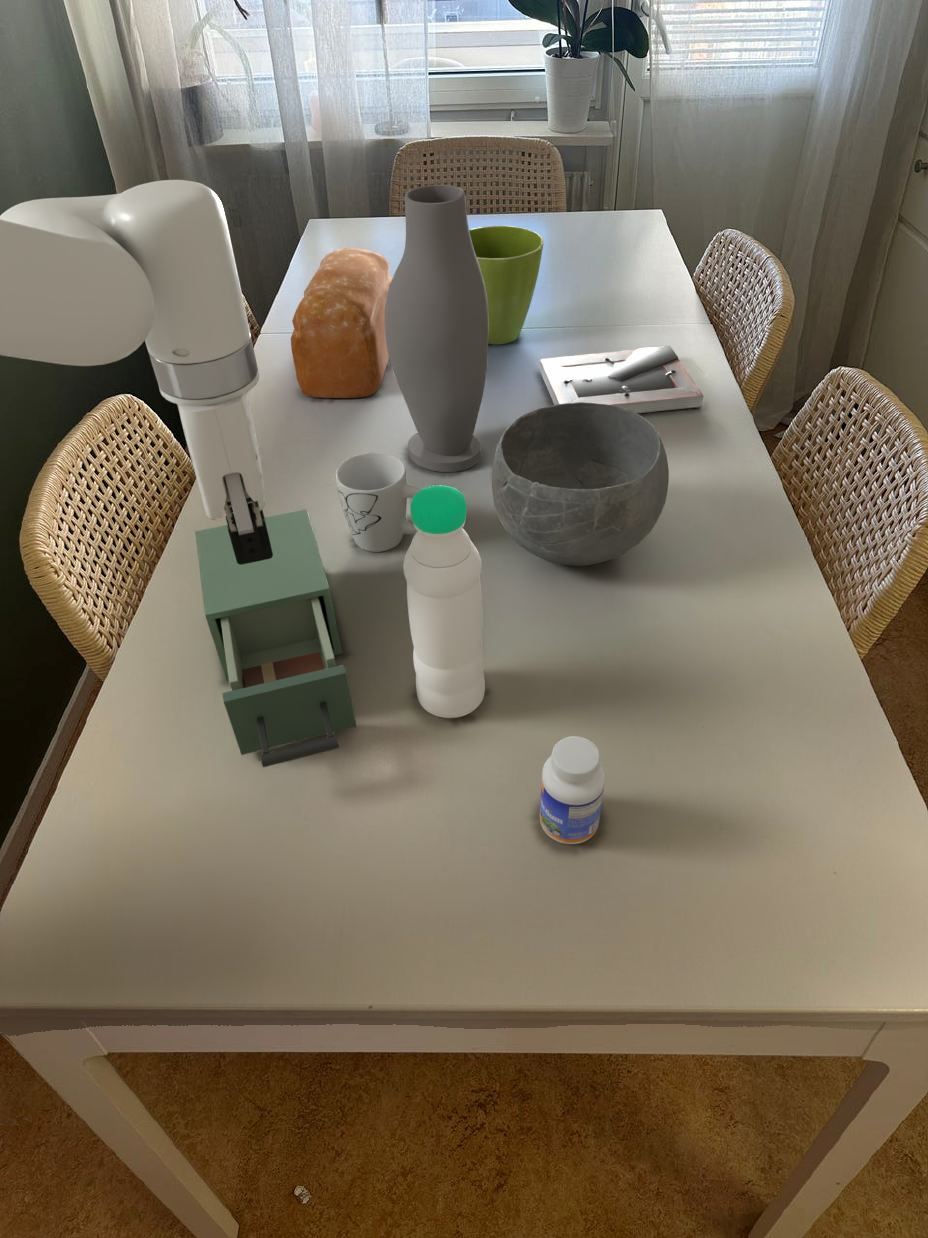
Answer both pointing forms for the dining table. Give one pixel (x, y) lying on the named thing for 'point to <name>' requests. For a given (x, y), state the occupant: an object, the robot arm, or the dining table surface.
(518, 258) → the flower pot
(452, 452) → the vase
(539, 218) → the dining table surface
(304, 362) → the bread
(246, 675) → the brown banded block
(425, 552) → the water bottle
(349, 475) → the mug
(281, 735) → the drawer
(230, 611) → the cabinet
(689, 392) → the picture frame
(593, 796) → the pill bottle
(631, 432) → the bowl
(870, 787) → the dining table surface
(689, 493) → the dining table surface
